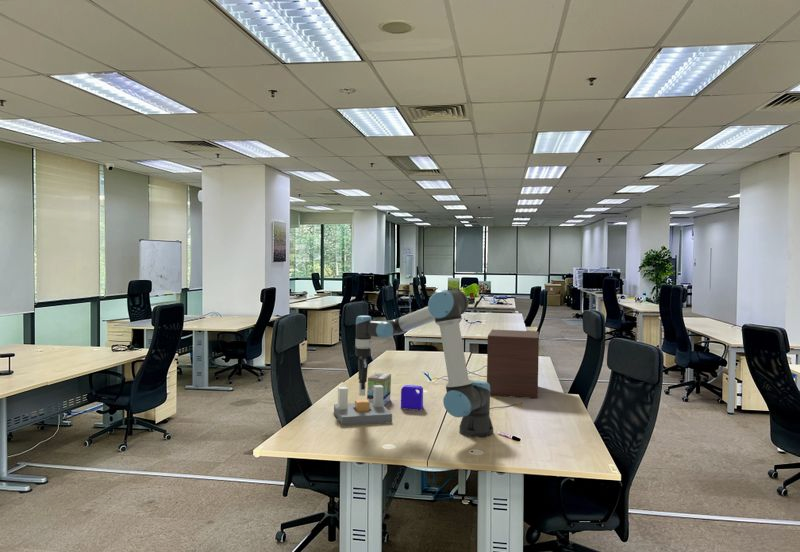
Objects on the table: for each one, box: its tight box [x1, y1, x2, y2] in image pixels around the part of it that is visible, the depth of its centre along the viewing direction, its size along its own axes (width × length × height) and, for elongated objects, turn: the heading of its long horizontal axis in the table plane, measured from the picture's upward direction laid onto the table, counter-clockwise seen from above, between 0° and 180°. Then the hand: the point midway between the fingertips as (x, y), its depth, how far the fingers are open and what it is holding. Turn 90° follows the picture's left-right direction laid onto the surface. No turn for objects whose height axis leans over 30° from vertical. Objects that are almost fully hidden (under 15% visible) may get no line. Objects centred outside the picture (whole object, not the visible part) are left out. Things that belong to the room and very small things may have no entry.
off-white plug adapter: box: [337, 385, 349, 410], centre depth 261 cm, size 5×4×10 cm
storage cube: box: [486, 329, 540, 399], centre depth 324 cm, size 35×29×35 cm
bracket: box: [400, 384, 424, 411], centre depth 284 cm, size 18×11×12 cm, turn 167°
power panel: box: [333, 402, 393, 427], centre depth 259 cm, size 24×24×4 cm
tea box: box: [366, 372, 392, 406], centre depth 289 cm, size 15×10×15 cm
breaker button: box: [354, 398, 370, 412], centre depth 259 cm, size 6×6×5 cm
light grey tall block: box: [373, 385, 384, 408], centre depth 266 cm, size 5×4×10 cm
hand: (362, 395), depth 259 cm, fingers closed
